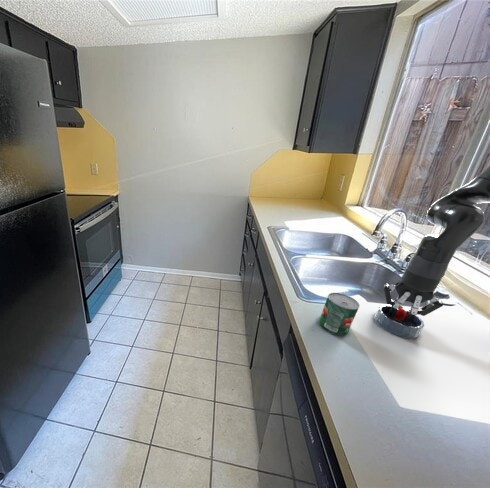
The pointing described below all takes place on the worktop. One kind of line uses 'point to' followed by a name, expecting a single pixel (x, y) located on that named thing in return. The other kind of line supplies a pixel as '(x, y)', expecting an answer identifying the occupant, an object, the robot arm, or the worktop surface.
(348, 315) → the canned tomato
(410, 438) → the worktop surface
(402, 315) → the strawberry
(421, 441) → the worktop surface
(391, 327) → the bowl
